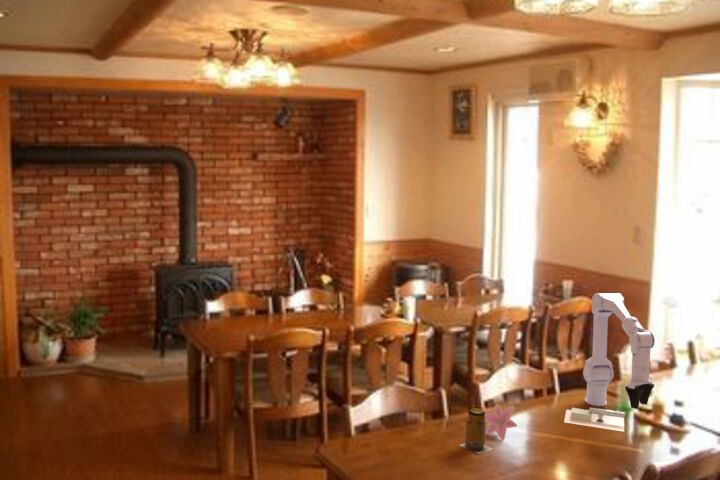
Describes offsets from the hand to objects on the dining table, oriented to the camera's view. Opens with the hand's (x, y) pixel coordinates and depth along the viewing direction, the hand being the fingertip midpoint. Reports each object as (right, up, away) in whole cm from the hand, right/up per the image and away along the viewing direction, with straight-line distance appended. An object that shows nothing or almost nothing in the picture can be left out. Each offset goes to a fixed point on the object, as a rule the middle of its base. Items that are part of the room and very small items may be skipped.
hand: (639, 406), depth 251 cm
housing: (-12, -8, +10) cm, 18 cm away
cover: (-16, -7, +11) cm, 21 cm away
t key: (-8, -7, +9) cm, 14 cm away
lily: (-49, -9, -4) cm, 50 cm away
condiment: (-58, -10, -16) cm, 61 cm away
